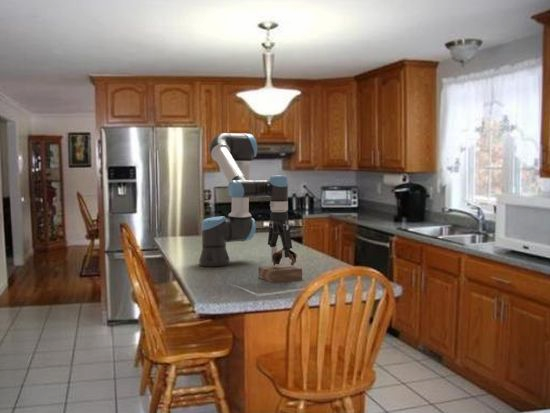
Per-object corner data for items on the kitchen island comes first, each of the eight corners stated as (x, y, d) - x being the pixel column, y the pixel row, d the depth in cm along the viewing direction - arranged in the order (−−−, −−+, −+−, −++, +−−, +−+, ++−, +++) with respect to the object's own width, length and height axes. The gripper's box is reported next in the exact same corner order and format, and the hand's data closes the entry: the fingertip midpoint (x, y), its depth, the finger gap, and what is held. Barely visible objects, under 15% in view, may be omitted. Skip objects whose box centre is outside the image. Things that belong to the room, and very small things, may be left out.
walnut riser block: (258, 278, 245) (258, 266, 245) (287, 275, 251) (287, 264, 251) (272, 283, 233) (272, 271, 232) (302, 280, 239) (302, 268, 238)
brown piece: (279, 262, 249) (288, 247, 248) (293, 274, 244) (303, 258, 242) (263, 260, 240) (272, 244, 238) (277, 272, 234) (287, 255, 233)
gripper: (259, 210, 248) (260, 260, 249) (284, 213, 229) (285, 267, 230) (274, 209, 252) (274, 259, 253) (300, 212, 233) (300, 265, 234)
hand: (279, 263), depth 242 cm, fingers closed on brown piece, 9 cm apart
